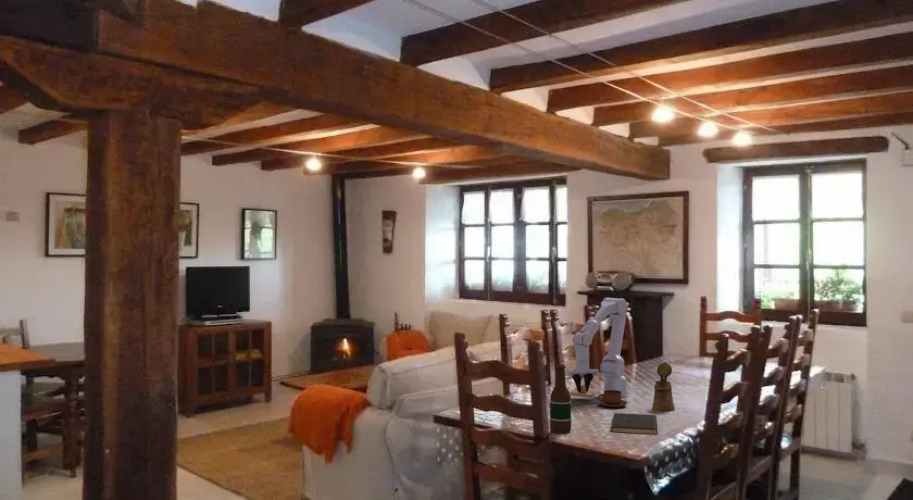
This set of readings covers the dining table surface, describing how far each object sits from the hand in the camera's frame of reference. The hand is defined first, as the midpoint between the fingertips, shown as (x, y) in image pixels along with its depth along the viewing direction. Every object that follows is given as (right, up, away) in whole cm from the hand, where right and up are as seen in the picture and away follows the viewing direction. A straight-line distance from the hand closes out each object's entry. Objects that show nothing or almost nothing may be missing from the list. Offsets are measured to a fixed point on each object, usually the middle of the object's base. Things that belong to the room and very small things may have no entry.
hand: (582, 391), depth 310 cm
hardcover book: (+12, -5, -43) cm, 45 cm away
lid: (0, -1, 0) cm, 1 cm away
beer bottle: (-17, -4, -51) cm, 54 cm away
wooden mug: (+32, -4, -13) cm, 34 cm away
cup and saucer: (+11, -5, -9) cm, 15 cm away
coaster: (0, -4, 0) cm, 4 cm away
